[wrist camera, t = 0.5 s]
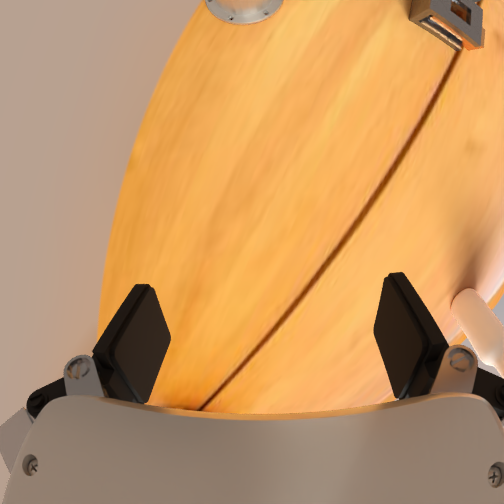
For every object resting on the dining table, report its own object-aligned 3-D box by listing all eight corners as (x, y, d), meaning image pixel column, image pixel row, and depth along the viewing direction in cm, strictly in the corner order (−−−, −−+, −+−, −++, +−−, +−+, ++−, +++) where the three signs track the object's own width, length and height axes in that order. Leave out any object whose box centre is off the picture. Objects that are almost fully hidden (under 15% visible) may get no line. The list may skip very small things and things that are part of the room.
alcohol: (445, 316, 55) (495, 407, 29) (455, 288, 51) (518, 380, 25) (468, 312, 55) (519, 394, 28) (479, 284, 51) (540, 367, 24)
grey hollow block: (408, 19, 27) (429, 8, 20) (414, -14, 23) (433, -27, 16) (467, 59, 28) (491, 56, 21) (470, 25, 24) (493, 19, 17)
